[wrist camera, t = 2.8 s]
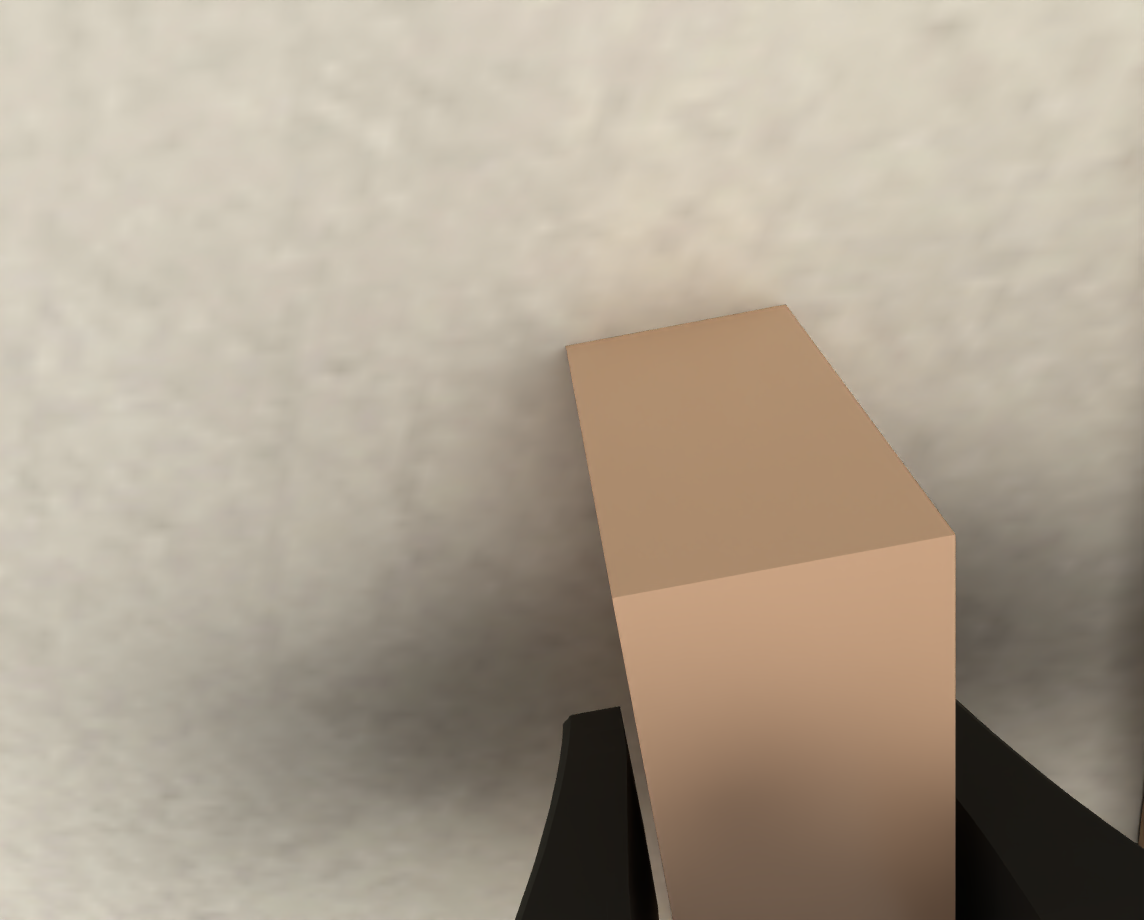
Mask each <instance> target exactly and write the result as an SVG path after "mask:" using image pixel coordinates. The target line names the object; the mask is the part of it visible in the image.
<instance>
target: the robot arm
mask: <svg viewBox="0 0 1144 920" xmlns="http://www.w3.org/2000/svg"><path fill="white" fill-rule="evenodd" d="M515 920H659V914H658V904H657V899H656V893H655V887H654V882H653V876H652V870H651V865H650V859H649V853H648V848H647V842H646V836H645V831H644V825H643V820H642V815H641V810H640V805H639V800H638V795H637V790H636V785H635V780H634V775H633V770H632V765H631V760H630V755H629V750H628V744H627V739H626V734H625V729H624V724H623V719H622V714H621V709H620V706H618V707H613V708H608V709H602V710H597V711H591V712H586V713H580V714H575V715H571V716H570V717H569V718H568V719H567V720H566V721H565V723H564V724H563V738H562V747H561V754H560V761H559V767H558V772H557V778H556V782H555V787H554V791H553V796H552V801H551V805H550V809H549V813H548V816H547V820H546V824H545V827H544V831H543V835H542V838H541V842H540V845H539V849H538V853H537V856H536V860H535V863H534V866H533V869H532V872H531V875H530V878H529V881H528V884H527V886H526V889H525V892H524V895H523V898H522V901H521V904H520V907H519V910H518V912H517V915H516V918H515ZM955 920H1144V848H1142V847H1141V846H1139V845H1138V844H1136V843H1135V842H1133V841H1132V840H1130V839H1129V838H1128V837H1126V836H1125V835H1123V834H1122V833H1120V832H1119V831H1118V830H1116V829H1115V828H1113V827H1112V826H1111V825H1109V824H1108V823H1106V822H1105V821H1104V820H1102V819H1101V818H1100V817H1098V816H1097V815H1096V814H1094V813H1093V812H1092V811H1090V810H1089V809H1088V808H1086V807H1085V806H1084V805H1082V804H1081V803H1080V802H1078V801H1077V800H1075V799H1074V798H1073V797H1071V796H1070V795H1069V794H1068V793H1066V792H1065V791H1064V790H1063V789H1061V788H1060V787H1059V786H1057V785H1056V784H1055V783H1054V782H1052V781H1051V780H1050V779H1048V778H1047V777H1046V776H1045V775H1044V774H1042V773H1041V772H1040V771H1039V770H1037V769H1036V768H1035V767H1034V766H1033V765H1031V764H1030V763H1029V762H1028V761H1027V760H1025V759H1024V758H1023V757H1022V756H1021V755H1019V754H1018V753H1017V752H1016V751H1014V750H1013V749H1012V748H1011V747H1010V746H1008V745H1007V744H1006V743H1005V742H1004V741H1002V740H1001V739H1000V738H999V737H998V736H997V735H996V734H994V733H993V732H992V731H991V730H990V729H989V728H987V727H986V726H985V725H984V724H983V723H982V722H981V721H980V720H979V719H977V718H976V717H975V716H974V715H973V714H972V713H971V712H970V711H968V710H967V709H966V708H965V707H964V706H963V705H962V704H961V703H960V702H959V701H957V700H956V699H955Z"/></svg>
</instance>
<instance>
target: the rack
mask: <svg viewBox="0 0 1144 920" xmlns="http://www.w3.org/2000/svg"><path fill="white" fill-rule="evenodd" d="M1138 845H1139V846H1141V847H1142V848H1144V800H1143V808H1142V817H1141V826H1140V834H1139V843H1138Z"/></svg>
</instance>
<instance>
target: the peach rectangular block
mask: <svg viewBox="0 0 1144 920" xmlns="http://www.w3.org/2000/svg"><path fill="white" fill-rule="evenodd" d="M566 350H567V355H568V361H569V366H570V372H571V377H572V382H573V388H574V393H575V399H576V404H577V410H578V415H579V421H580V426H581V432H582V437H583V442H584V448H585V453H586V459H587V464H588V470H589V475H590V481H591V486H592V492H593V497H594V502H595V508H596V513H597V519H598V524H599V530H600V535H601V541H602V546H603V551H604V557H605V562H606V568H607V573H608V579H609V584H610V590H611V595H612V600H613V606H614V611H615V616H616V622H617V627H618V632H619V637H620V643H621V648H622V653H623V659H624V664H625V669H626V675H627V680H628V685H629V690H630V696H631V701H632V706H633V712H634V717H635V722H636V727H637V733H638V738H639V743H640V749H641V754H642V759H643V764H644V770H645V775H646V780H647V786H648V791H649V796H650V801H651V807H652V812H653V817H654V823H655V828H656V833H657V838H658V844H659V849H660V854H661V860H662V865H663V870H664V875H665V881H666V886H667V891H668V897H669V902H670V907H671V912H672V918H673V920H955V533H954V532H953V531H952V529H951V528H950V526H949V525H948V524H947V522H946V521H945V520H944V518H943V517H942V516H941V514H940V513H939V512H938V510H937V509H936V508H935V506H934V505H933V503H932V502H931V501H930V499H929V498H928V497H927V495H926V494H925V493H924V491H923V490H922V489H921V487H920V486H919V484H918V483H917V482H916V480H915V479H914V478H913V476H912V475H911V474H910V472H909V471H908V470H907V468H906V467H905V466H904V464H903V463H902V461H901V460H900V459H899V457H898V456H897V455H896V453H895V452H894V451H893V449H892V448H891V447H890V445H889V444H888V442H887V441H886V440H885V438H884V437H883V436H882V434H881V433H880V432H879V430H878V429H877V428H876V426H875V425H874V424H873V422H872V421H871V419H870V418H869V417H868V415H867V414H866V413H865V411H864V410H863V409H862V407H861V406H860V405H859V403H858V402H857V400H856V399H855V398H854V396H853V395H852V394H851V392H850V391H849V390H848V388H847V387H846V386H845V384H844V383H843V382H842V380H841V379H840V377H839V376H838V375H837V373H836V372H835V371H834V369H833V368H832V367H831V365H830V364H829V363H828V361H827V360H826V358H825V357H824V356H823V354H822V353H821V352H820V350H819V349H818V348H817V346H816V345H815V344H814V342H813V341H812V340H811V338H810V337H809V335H808V334H807V333H806V331H805V330H804V329H803V327H802V326H801V325H800V323H799V322H798V321H797V319H796V318H795V316H794V315H793V314H792V312H791V311H790V310H789V308H788V307H787V306H786V305H780V306H775V307H770V308H765V309H759V310H754V311H749V312H743V313H738V314H733V315H727V316H722V317H717V318H712V319H706V320H701V321H696V322H690V323H685V324H680V325H675V326H669V327H664V328H659V329H653V330H648V331H643V332H638V333H632V334H627V335H622V336H616V337H611V338H606V339H601V340H595V341H590V342H585V343H579V344H574V345H569V346H566Z"/></svg>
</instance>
